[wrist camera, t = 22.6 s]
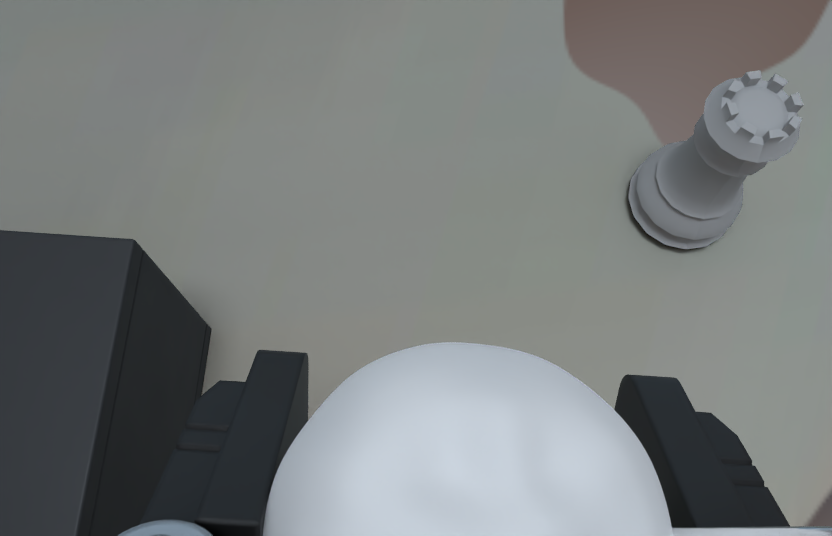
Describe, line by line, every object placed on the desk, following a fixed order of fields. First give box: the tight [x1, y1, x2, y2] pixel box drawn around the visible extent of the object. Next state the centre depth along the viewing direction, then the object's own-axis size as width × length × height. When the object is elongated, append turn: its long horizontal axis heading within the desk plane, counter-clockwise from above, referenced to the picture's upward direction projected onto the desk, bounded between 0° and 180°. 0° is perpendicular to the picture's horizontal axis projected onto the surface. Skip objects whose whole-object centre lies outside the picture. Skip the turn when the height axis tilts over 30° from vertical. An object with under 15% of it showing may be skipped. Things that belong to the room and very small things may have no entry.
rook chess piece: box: [628, 70, 803, 249], centre depth 29 cm, size 4×4×8 cm
